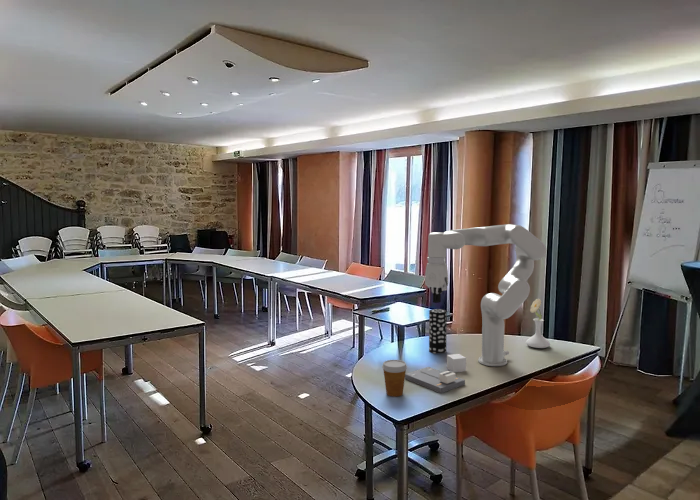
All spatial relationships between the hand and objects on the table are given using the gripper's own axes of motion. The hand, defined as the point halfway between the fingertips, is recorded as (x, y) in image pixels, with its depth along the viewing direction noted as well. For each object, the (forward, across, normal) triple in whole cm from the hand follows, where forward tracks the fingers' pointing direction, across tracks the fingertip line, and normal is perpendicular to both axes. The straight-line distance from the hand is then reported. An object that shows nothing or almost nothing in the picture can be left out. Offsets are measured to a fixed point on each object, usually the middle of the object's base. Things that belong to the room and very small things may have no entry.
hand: (436, 302), depth 220 cm
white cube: (+29, +8, +4) cm, 31 cm away
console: (+29, +12, -14) cm, 34 cm away
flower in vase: (+29, +12, +60) cm, 68 cm away
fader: (+27, +19, -14) cm, 36 cm away
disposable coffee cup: (+29, +11, -35) cm, 47 cm away
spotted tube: (+29, -15, +17) cm, 37 cm away
